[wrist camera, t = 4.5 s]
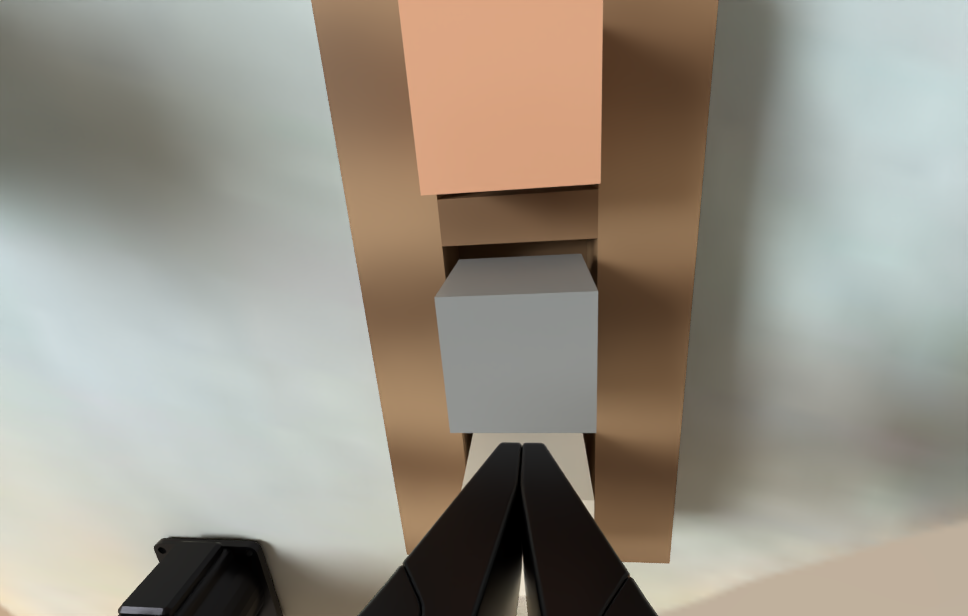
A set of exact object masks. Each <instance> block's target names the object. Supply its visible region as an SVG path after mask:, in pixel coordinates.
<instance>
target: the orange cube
mask: <svg viewBox="0 0 968 616" xmlns="http://www.w3.org/2000/svg"><path fill="white" fill-rule="evenodd" d="M398 6H399V14H400V23H401V31H402V40H403V48H404V57H405V65H406V74H407V82H408V91H409V99H410V108H411V116H412V125H413V133H414V142H415V150H416V159H417V167H418V176H419V184H420V193H421V196H422V195H437V194H452V193H468V192H483V191H498V190H513V189H528V188H543V187H558V186H573V185H588V184H601V117H602V43H603V0H398Z"/></svg>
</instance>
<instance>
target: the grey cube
mask: <svg viewBox="0 0 968 616" xmlns="http://www.w3.org/2000/svg"><path fill="white" fill-rule="evenodd" d="M434 299H435V307H436V316H437V324H438V333H439V342H440V350H441V359H442V367H443V376H444V384H445V393H446V402H447V410H448V419H449V427H450V433H596V427H597V348H598V290H597V287H596V285H595V283H594V281H593V279H592V276H591V274H590V272H589V270H588V267H587V265H586V263H585V261H584V259H583V256H582V254H562V255H542V256H521V257H500V258H480V259H459V261H458V262H457V264H456V265H455V267H454V268H453V270H452V271H451V273H450V274H449V276H448V277H447V279H446V280H445V282H444V283H443V285H442V287H441V288H440V290H439V291H438V293H437V294H436V296H435V297H434Z"/></svg>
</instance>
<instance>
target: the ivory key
mask: <svg viewBox="0 0 968 616" xmlns="http://www.w3.org/2000/svg"><path fill="white" fill-rule="evenodd" d="M502 442H518V443H520V444H521V445H523V444H524V443H543V444H545V446H546V447H547V449H548V450H549V452H550V453H551V455H552V456H553V458H554V459H555V461H556V462H557V464H558V465H559V467H560V468H561V470H562V471H563V473H564V475H565V476H566V478H567V479H568V481H569V482H570V484H571V485H572V487H573V488H574V490H575V491H576V493H577V494H578V496H579V497H580V499H581V500H582V502H583V503H584V505H585V507H586V508H587V510H588V511H589V513H590V514H591V516H592V517H593V519H594V495H593V489H592V484H591V478H590V472H589V466H588V461H587V455H586V449H585V443H584V438H583V433H473V436H472V441H471V446H470V451H469V456H468V460H467V465H466V470H465V475H464V480H463V484H462V489H463V488H464V487H465V485H466V484H467V483H468V482H469V481H470V479H471V478H472V477H473V476H474V474H475V473H476V472H477V471H478V469H479V468H480V467H481V466H482V465H483V463H484V462H485V461H486V460H487V458H488V457H489V456H490V455H491V453H492V452H493V451H494V450H495V448H496V447H497V446H498V445H499V444H500V443H502ZM462 489H461V490H462ZM519 596H526V593H525V583H524V570H523V561H522V574H521V584H520V591H519Z"/></svg>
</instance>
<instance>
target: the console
mask: <svg viewBox="0 0 968 616" xmlns="http://www.w3.org/2000/svg"><path fill="white" fill-rule="evenodd" d="M311 2H312V8H313V14H314V20H315V25H316V31H317V37H318V43H319V48H320V54H321V60H322V66H323V72H324V77H325V83H326V89H327V95H328V101H329V106H330V112H331V118H332V124H333V129H334V135H335V141H336V147H337V153H338V158H339V164H340V170H341V176H342V181H343V187H344V193H345V199H346V205H347V210H348V216H349V222H350V228H351V233H352V239H353V245H354V251H355V257H356V262H357V268H358V274H359V280H360V285H361V291H362V297H363V303H364V309H365V314H366V320H367V326H368V332H369V337H370V343H371V349H372V355H373V361H374V366H375V372H376V378H377V384H378V389H379V395H380V401H381V407H382V413H383V418H384V424H385V430H386V436H387V441H388V447H389V453H390V459H391V465H392V470H393V476H394V482H395V488H396V494H397V499H398V505H399V511H400V517H401V522H402V528H403V534H404V540H405V546H406V551H407V555H409V554H410V553H411V552H412V551H413V549H414V548H415V547H416V546H417V545H418V543H419V542H420V541H421V540H422V538H423V537H424V536H425V535H426V533H427V532H428V531H429V530H430V529H431V527H432V526H433V525H434V524H435V522H436V521H437V520H438V519H439V517H440V516H441V515H442V514H443V513H444V511H445V510H446V509H447V508H448V506H449V505H450V504H451V503H452V501H453V500H454V499H455V498H456V497H457V495H458V494H459V493H460V492H461V489H462V484H463V480H464V475H465V470H466V465H467V460H468V456H469V451H470V446H471V441H472V436H473V433H450V427H449V419H448V410H447V402H446V393H445V384H444V376H443V367H442V359H441V350H440V342H439V333H438V324H437V316H436V307H435V299H434V297H435V296H436V294H437V293H438V291H439V290H440V288H441V287H442V285H443V283H444V282H445V280H446V279H447V277H448V276H449V274H450V273H451V271H452V270H453V268H454V267H455V265H456V264H457V262H458V261H459V259H480V258H500V257H521V256H542V255H562V254H582V256H583V259H584V261H585V263H586V265H587V267H588V270H589V272H590V274H591V276H592V279H593V281H594V283H595V285H596V287H597V290H598V348H597V427H596V433H583V438H584V443H585V449H586V455H587V461H588V466H589V472H590V478H591V484H592V489H593V495H594V520H595V522H596V523H597V525H598V526H599V528H600V529H601V531H602V532H603V534H604V535H605V537H606V539H607V540H608V542H609V543H610V545H611V546H612V548H613V549H614V551H615V552H616V554H617V555H618V557H619V558H620V560H621V561H622V562H644V563H669V562H670V550H671V539H672V527H673V516H674V504H675V493H676V482H677V470H678V459H679V447H680V436H681V424H682V413H683V401H684V390H685V378H686V367H687V355H688V344H689V332H690V321H691V309H692V298H693V286H694V275H695V263H696V252H697V240H698V229H699V217H700V206H701V195H702V183H703V172H704V160H705V149H706V137H707V126H708V114H709V103H710V91H711V80H712V68H713V57H714V45H715V34H716V22H717V11H718V0H603V43H602V117H601V184H588V185H573V186H558V187H543V188H528V189H513V190H498V191H483V192H468V193H452V194H437V195H422V196H421V193H420V184H419V176H418V167H417V159H416V150H415V142H414V133H413V125H412V116H411V108H410V99H409V91H408V82H407V74H406V65H405V57H404V48H403V40H402V31H401V23H400V14H399V6H398V0H311Z"/></svg>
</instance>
